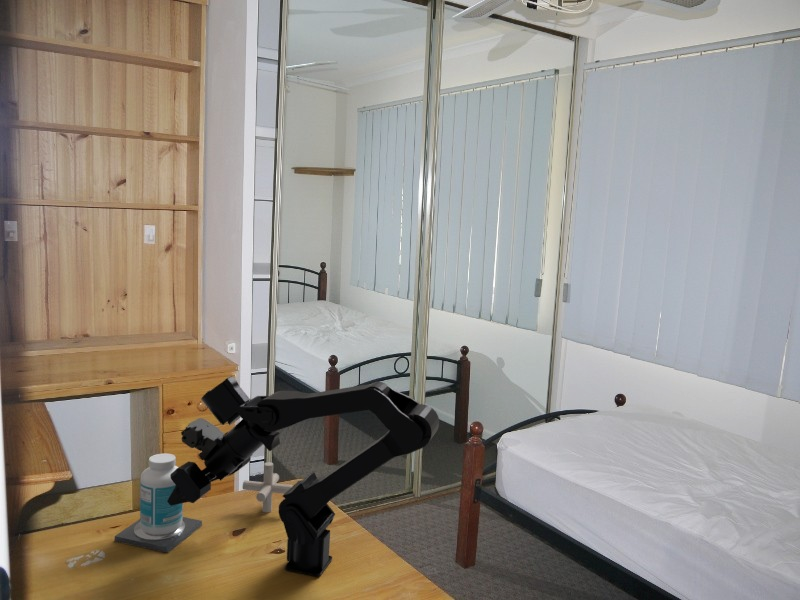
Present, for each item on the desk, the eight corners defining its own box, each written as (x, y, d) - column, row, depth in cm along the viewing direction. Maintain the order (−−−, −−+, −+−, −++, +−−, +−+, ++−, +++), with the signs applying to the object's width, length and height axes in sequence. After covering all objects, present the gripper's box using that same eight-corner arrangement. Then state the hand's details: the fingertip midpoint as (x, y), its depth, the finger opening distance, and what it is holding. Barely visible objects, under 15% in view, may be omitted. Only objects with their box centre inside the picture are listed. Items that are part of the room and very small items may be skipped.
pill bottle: (187, 518, 128) (189, 451, 126) (175, 538, 121) (177, 467, 119) (147, 516, 128) (149, 449, 126) (133, 535, 120) (134, 464, 119)
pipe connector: (297, 502, 141) (299, 457, 139) (284, 524, 131) (286, 476, 129) (250, 497, 142) (252, 452, 140) (234, 519, 132) (236, 470, 130)
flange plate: (201, 525, 128) (202, 519, 128) (167, 553, 118) (167, 546, 118) (152, 515, 131) (152, 509, 131) (114, 541, 120) (114, 535, 120)
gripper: (237, 394, 127) (186, 442, 132) (181, 423, 109) (123, 477, 114) (274, 440, 126) (221, 486, 131) (223, 476, 108) (163, 528, 113)
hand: (184, 492), depth 122 cm, fingers open, 9 cm apart
